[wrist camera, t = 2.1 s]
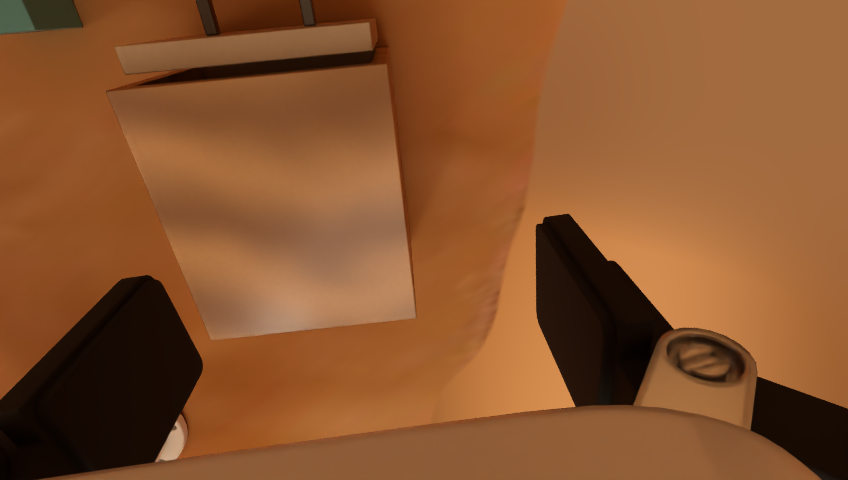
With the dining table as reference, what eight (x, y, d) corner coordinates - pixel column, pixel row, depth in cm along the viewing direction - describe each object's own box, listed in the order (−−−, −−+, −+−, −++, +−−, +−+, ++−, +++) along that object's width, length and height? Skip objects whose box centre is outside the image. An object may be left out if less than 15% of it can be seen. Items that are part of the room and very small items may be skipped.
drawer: (157, -58, 24) (61, -85, 17) (363, -77, 24) (352, -111, 17) (249, 233, 32) (211, 293, 26) (400, 217, 33) (401, 273, 26)
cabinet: (193, 65, 28) (104, 91, 19) (388, 46, 28) (387, 63, 19) (255, 259, 34) (210, 340, 26) (410, 243, 35) (417, 318, 26)
